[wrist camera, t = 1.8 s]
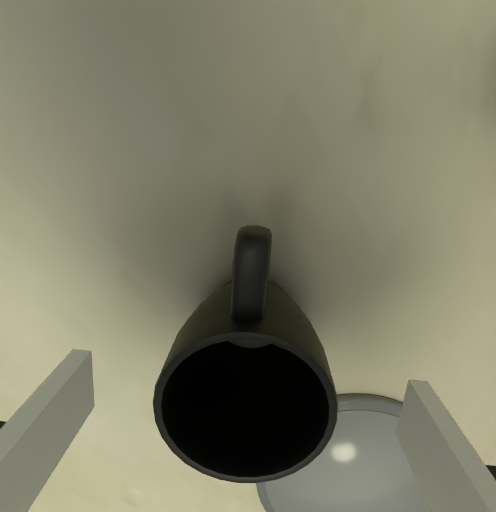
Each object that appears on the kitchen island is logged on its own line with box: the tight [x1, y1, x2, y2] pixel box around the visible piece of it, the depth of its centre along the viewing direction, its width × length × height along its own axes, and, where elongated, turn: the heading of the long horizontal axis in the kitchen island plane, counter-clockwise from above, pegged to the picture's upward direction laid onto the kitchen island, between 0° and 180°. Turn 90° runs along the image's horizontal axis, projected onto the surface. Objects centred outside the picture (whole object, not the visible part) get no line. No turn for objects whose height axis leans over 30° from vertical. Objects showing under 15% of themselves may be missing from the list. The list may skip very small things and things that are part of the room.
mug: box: [153, 226, 338, 483], centre depth 20 cm, size 8×12×10 cm
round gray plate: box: [256, 394, 431, 512], centre depth 29 cm, size 15×15×1 cm
